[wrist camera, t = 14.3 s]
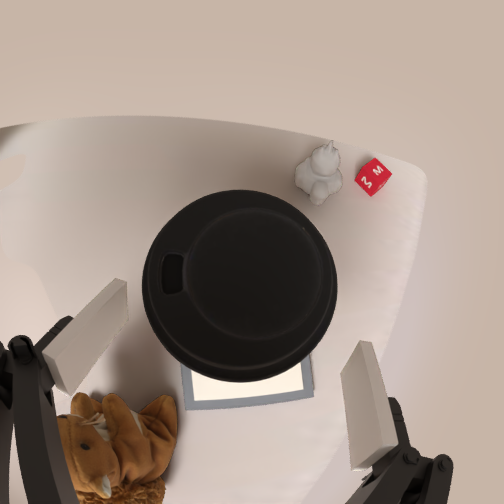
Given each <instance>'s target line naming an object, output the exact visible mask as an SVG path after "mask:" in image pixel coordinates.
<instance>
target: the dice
mask: <svg viewBox="0 0 504 504" xmlns="http://www.w3.org/2000/svg"><path fill="white" fill-rule="evenodd" d="M391 175H392V173H391V172H390V171H389V170H388V169H387V168H386V167H385V166H384V165H383V164H382V163H381V162H379V161H378V160H377V159H376V158H374V159H373V160H371V161H370V162H369V163H367V164H366V165H364V166H363V167H362V169H361V170H360V172H359V174H358V175H357V177H356V179H355V181H356V182H357V183H358V184H359V185H360V186H361V187H362V188H363V189H364V190H365V191H366V192H367V193H368V194H369V195H370V196H372V195H374V194H375V193H376V192H377V191H378V190H379V189H381V188H382V187H383V186H384V184H385V183H386V182H387V180H388V179H389V178H390V176H391Z"/></svg>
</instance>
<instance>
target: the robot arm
mask: <svg viewBox="0 0 504 504" xmlns="http://www.w3.org/2000/svg"><path fill="white" fill-rule="evenodd" d="M127 321H128V307H127V282H125V281H122V280H119V279H116V278H115V279H114V280H113V281H112V282H111V283H110V284H109V285H107V286H106V287H105V288H104V289H103V290H102V291H101V292H100V293H99V294H98V295H97V296H96V297H95V298H94V299H93V300H92V301H91V302H90V303H89V304H88V305H87V306H86V307H85V308H84V309H83V310H82V311H81V312H80V313H79V314H78V315H77V316H76V317H75V318H73V317H71V316H69V315H68V316H66V317H64V318H62V319H60V320H59V321H58V322H57V323H56V324H55V325H54V327H52V328H51V329H50V330H49V332H47V333H46V334H45V335H44V336H43V337H42V338H41V339H40V340H39V341H38V342H37V343H36V344H35V346H33V343H32V341H31V339H30V338H29V337H27V336H25V335H19V336H15V337H14V338H12V339H11V340H10V341H9V344H8V348H9V350H6V349H5V348H4V346H3V344H2V343H1V341H0V504H9V463H10V450H11V449H10V448H11V440H12V431H13V424H14V427H15V438H16V446H17V453H18V458H19V465H20V470H21V475H22V479H23V484H24V488H25V492H26V496H27V500H28V504H80V503H79V500H78V497H77V495H76V492H75V489H74V486H73V483H72V480H71V476H70V473H69V470H68V466H67V462H66V459H65V455H64V451H63V447H62V442H61V438H60V433H59V428H58V422H57V417H56V410H55V404H54V397H53V391H52V387H53V386H54V384H55V385H56V387H57V389H58V391H59V392H61V393H63V394H64V395H66V396H68V397H70V398H71V396H72V395H73V393H74V392H75V391H76V389H77V388H78V386H79V385H80V384H81V382H82V381H83V379H84V378H85V377H86V375H87V374H88V372H89V371H90V370H91V368H92V367H93V366H94V364H95V363H96V362H97V360H98V359H99V357H100V356H101V355H102V353H103V352H104V351H105V349H106V348H107V347H108V346H109V344H110V343H111V342H112V340H113V339H114V338H115V336H116V335H117V334H118V332H119V331H120V330H121V329H122V327H123V326H124V325H125V323H126V322H127ZM340 374H341V381H342V388H343V396H344V404H345V412H346V420H347V430H348V438H349V439H348V440H349V450H350V462H351V471H363V470H367V469H368V468H369V467H371V466H372V469H373V471H372V472H371V473H370V474H368V475H367V476H365V477H364V478H363V479H362V480H365V481H364V482H363V483H362V484H361V486H360V487H359V488H358V489H357V490H356V492H355V493H354V494H353V495H352V497H351V498H350V499H349V500H348V501H347V502H346V503H345V504H447V500H448V496H449V491H450V485H451V479H452V473H453V462H452V460H451V458H450V457H449V456H447V455H445V454H440V455H438V456H437V457H435V458H434V459H431V458H427V457H422V456H421V455H420V453H419V451H417V450H416V449H415V448H413V447H411V445H410V443H409V438H408V434H407V430H406V426H405V422H404V418H403V416H402V411H401V407H400V405H399V403H398V402H397V400H396V399H395V398H392V397H387V393H386V390H385V386H384V382H383V379H382V376H381V372H380V368H379V365H378V362H377V358H376V355H375V352H374V349H373V345H372V342H366V341H361V340H360V341H359V343H358V344H357V346H356V348H355V350H354V351H353V353H352V355H351V357H350V358H349V360H348V362H347V363H346V365H345V367H344V368H343V370H342V372H341V373H340Z"/></svg>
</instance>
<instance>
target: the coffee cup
mask: <svg viewBox="0 0 504 504" xmlns="http://www.w3.org/2000/svg"><path fill="white" fill-rule="evenodd" d="M142 296H143V303H144V308H145V311H146V315H147V317H148V320H149V323H150V325H151V327H152V329H153V331H154V333H155V334H156V336H157V337H158V339H159V340H160V342H161V343H162V344H163V346H164V347H165V348H166V350H167V351H168V352H169V353H170V354H171V355H172V356H173V357H174V358H176V359H177V360H178V361H179V362H180V363H182V364H183V365H185V366H186V367H187V368H189V369H191V370H193V371H194V372H196V373H199V374H201V375H203V376H206V377H209V378H211V379H215V380H219V381H225V382H234V383H247V382H255V381H261V380H265V379H269V378H272V377H274V376H277V375H279V374H282V373H284V372H286V371H287V370H289V369H291V368H293V367H294V366H295V365H297V364H298V363H300V362H301V361H302V360H303V359H304V358H306V357H307V356H308V355H309V354H310V353H311V351H312V350H313V349H314V348H315V347H316V346H317V344H318V343H319V342H320V341H321V339H322V337H323V336H324V334H325V333H326V331H327V329H328V327H329V325H330V322H331V320H332V317H333V314H334V310H335V306H336V301H337V274H336V268H335V264H334V261H333V257H332V255H331V252H330V250H329V248H328V246H327V244H326V242H325V240H324V239H323V237H322V235H321V234H320V233H319V231H318V230H317V229H316V227H315V226H314V225H313V224H312V223H311V222H310V220H309V219H308V218H307V217H306V216H305V215H304V214H303V213H301V212H300V211H299V210H298V209H296V208H295V207H293V206H292V205H291V204H289V203H287V202H285V201H284V200H281V199H279V198H277V197H275V196H272V195H269V194H266V193H262V192H257V191H251V190H229V191H222V192H217V193H213V194H210V195H207V196H204V197H202V198H200V199H198V200H196V201H194V202H192V203H190V204H189V205H187V206H186V207H184V208H183V209H182V210H181V211H179V212H178V213H177V214H176V215H175V216H174V217H173V218H172V219H171V220H169V221H168V222H167V224H166V225H165V226H164V227H163V228H162V230H161V231H160V232H159V234H158V235H157V237H156V238H155V240H154V241H153V243H152V245H151V247H150V250H149V252H148V255H147V258H146V261H145V264H144V269H143V276H142Z"/></svg>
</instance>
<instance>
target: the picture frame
mask: <svg viewBox="0 0 504 504" xmlns="http://www.w3.org/2000/svg"><path fill="white" fill-rule="evenodd" d="M181 374H182V383H183V392H184V401H185V409H186V410H211V409H227V408H240V407H250V406H259V405H267V404H275V403H281V402H288V401H294V400H300V399H306V398H311V397H314V392H313V383H312V374H311V366H310V358H309V355H308V356H307V357H306V358H304V359H303V360H302V361H301V362H300V363H298V364H297V365H295V366H294V367H293V368H291V369H289V370H287V371H286V372H284V373H282V374H279V375H277V376H274V377H272V378H269V379H265V380H261V381H255V382H247V383H234V382H225V381H219V380H215V379H211V378H209V377H206V376H203V375H201V374H199V373H196V372H194V371H193V370H191V369H189V368H187V367H186V366H185V365H183V364H182V363H181Z"/></svg>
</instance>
